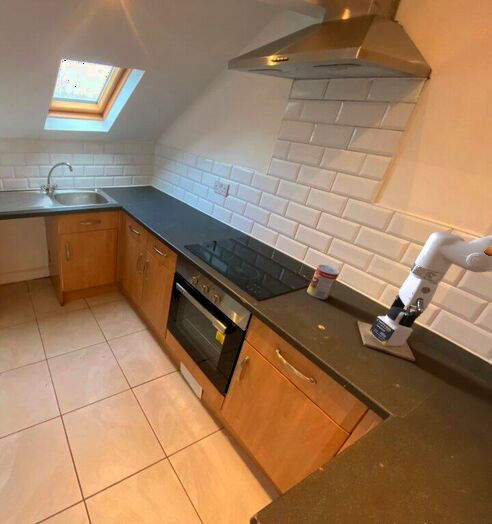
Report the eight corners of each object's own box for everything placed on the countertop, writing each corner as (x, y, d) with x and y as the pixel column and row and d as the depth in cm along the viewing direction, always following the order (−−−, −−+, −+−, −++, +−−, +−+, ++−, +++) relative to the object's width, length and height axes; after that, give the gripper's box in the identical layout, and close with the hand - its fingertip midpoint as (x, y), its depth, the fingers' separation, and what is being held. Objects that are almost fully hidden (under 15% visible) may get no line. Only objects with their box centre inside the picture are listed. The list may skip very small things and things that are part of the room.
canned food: (323, 290, 130) (334, 266, 125) (330, 300, 124) (342, 275, 118) (304, 287, 131) (315, 263, 126) (310, 297, 124) (321, 272, 119)
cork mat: (401, 336, 107) (402, 334, 106) (414, 361, 95) (415, 359, 95) (357, 322, 112) (358, 320, 111) (364, 344, 100) (365, 343, 100)
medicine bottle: (367, 331, 106) (384, 303, 100) (385, 332, 107) (402, 304, 101) (384, 346, 99) (402, 317, 94) (402, 346, 100) (422, 317, 95)
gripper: (454, 288, 82) (422, 336, 90) (431, 265, 97) (405, 308, 104) (421, 280, 85) (392, 328, 93) (403, 258, 99) (380, 301, 107)
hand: (399, 317), depth 99 cm, fingers open, 9 cm apart
